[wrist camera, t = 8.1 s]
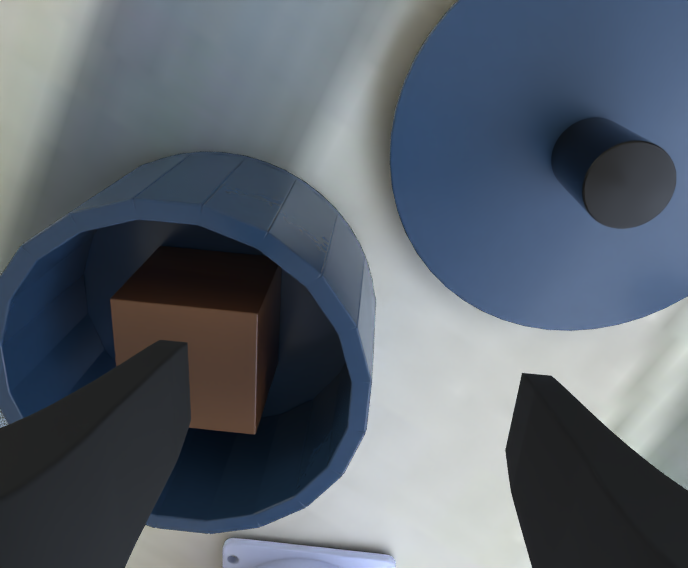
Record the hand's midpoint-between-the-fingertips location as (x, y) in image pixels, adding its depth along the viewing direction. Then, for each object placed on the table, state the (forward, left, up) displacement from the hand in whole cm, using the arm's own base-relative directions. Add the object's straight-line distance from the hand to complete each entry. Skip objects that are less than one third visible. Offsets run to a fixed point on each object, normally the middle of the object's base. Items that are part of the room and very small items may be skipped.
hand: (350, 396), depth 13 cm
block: (-3, +5, -10) cm, 11 cm away
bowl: (-3, +5, -10) cm, 12 cm away
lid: (+4, -7, -9) cm, 12 cm away
